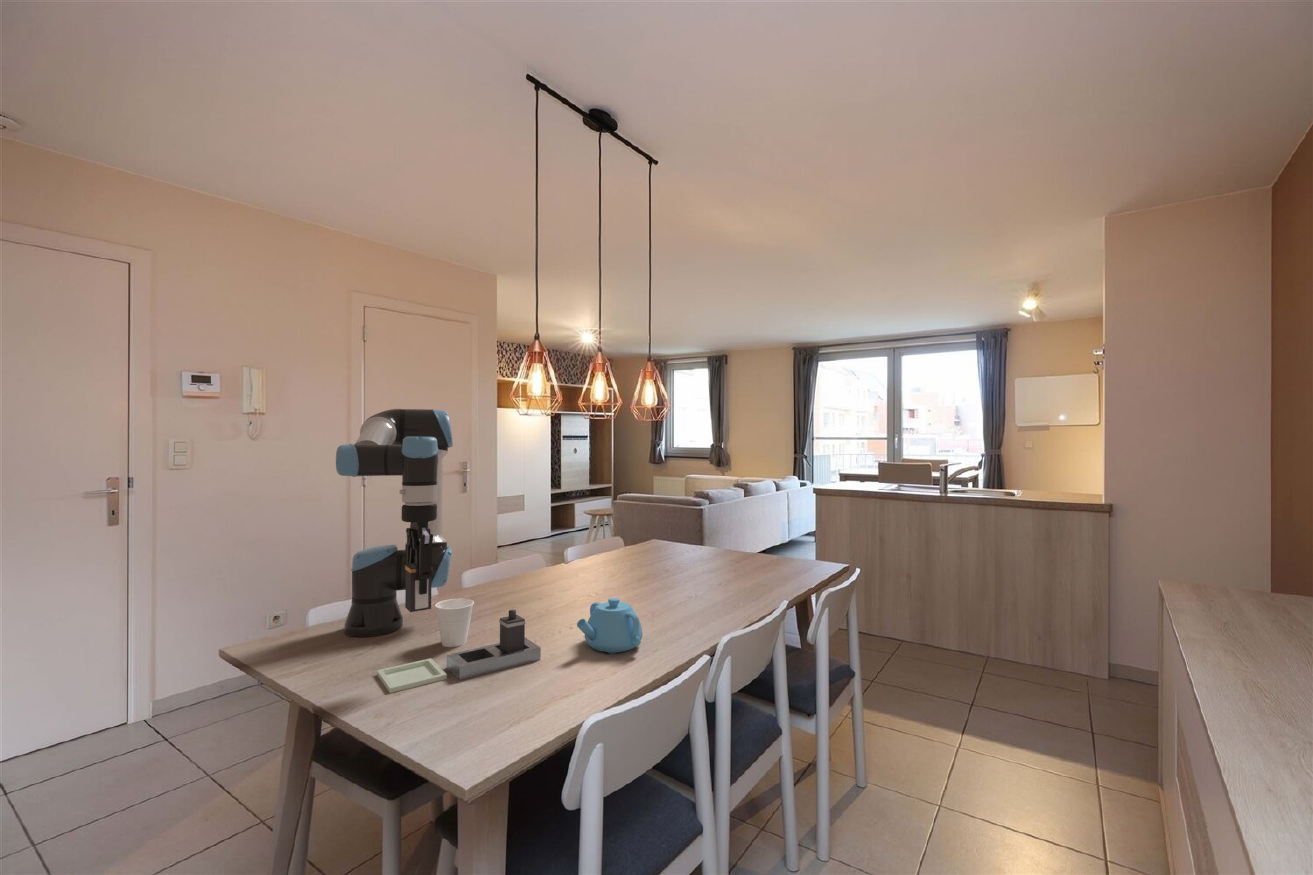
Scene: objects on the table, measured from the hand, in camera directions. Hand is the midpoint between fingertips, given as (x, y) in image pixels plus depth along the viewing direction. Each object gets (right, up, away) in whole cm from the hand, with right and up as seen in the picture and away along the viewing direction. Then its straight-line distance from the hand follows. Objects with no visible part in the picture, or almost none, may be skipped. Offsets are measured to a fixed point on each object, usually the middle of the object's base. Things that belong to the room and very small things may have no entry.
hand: (418, 604), depth 129 cm
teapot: (+42, -17, +19) cm, 49 cm away
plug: (0, -1, 0) cm, 1 cm away
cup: (+1, -17, +21) cm, 27 cm away
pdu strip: (+15, -17, +7) cm, 24 cm away
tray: (-1, -17, -1) cm, 17 cm away
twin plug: (+19, -16, +10) cm, 27 cm away
